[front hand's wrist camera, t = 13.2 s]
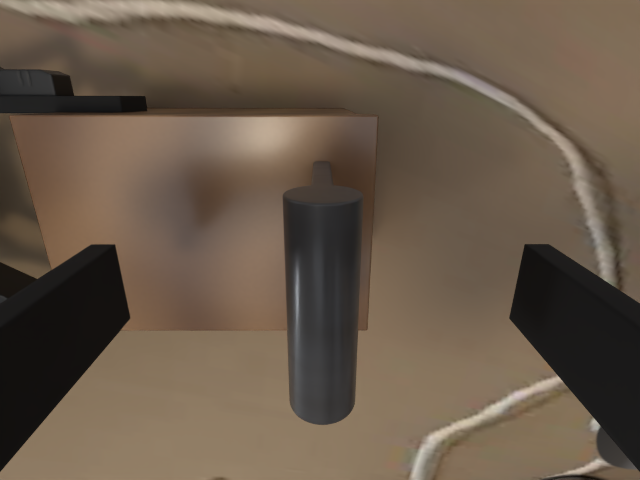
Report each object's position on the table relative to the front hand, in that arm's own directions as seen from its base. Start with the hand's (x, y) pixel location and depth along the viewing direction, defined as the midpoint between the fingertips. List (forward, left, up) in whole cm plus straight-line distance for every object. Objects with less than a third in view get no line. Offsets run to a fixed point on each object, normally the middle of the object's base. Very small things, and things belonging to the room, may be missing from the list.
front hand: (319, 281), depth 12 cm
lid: (+5, +2, -6) cm, 8 cm away
